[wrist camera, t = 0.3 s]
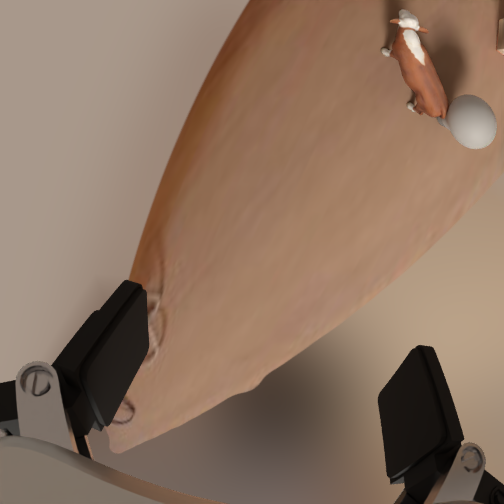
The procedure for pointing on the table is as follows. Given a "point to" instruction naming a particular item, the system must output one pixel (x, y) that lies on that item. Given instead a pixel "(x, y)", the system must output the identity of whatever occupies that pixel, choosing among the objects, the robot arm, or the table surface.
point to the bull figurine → (417, 67)
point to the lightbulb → (470, 121)
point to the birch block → (500, 37)
